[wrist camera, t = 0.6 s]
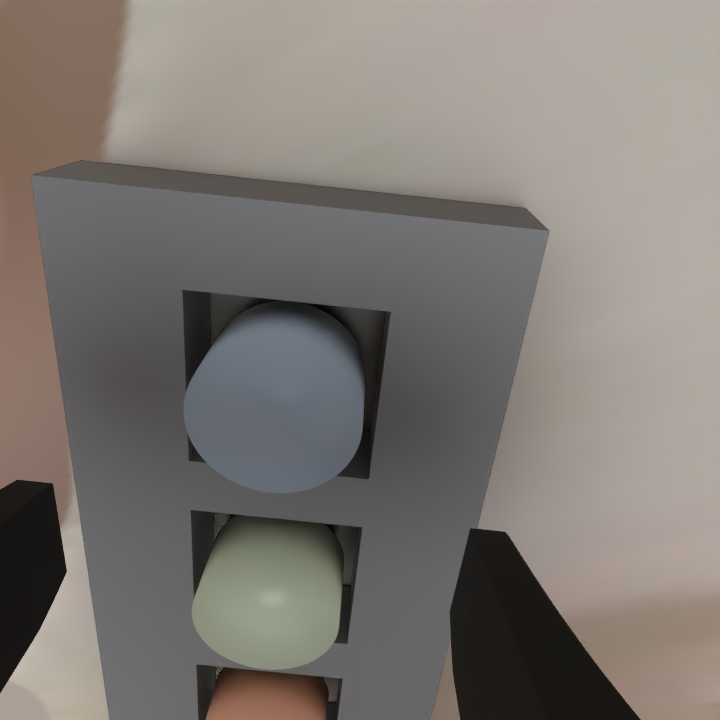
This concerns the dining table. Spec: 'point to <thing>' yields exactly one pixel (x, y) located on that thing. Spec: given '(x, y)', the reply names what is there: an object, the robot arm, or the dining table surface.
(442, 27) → the dining table surface
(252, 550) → the button sage
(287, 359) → the button slate
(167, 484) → the button panel
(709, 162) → the dining table surface
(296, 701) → the button terracotta
